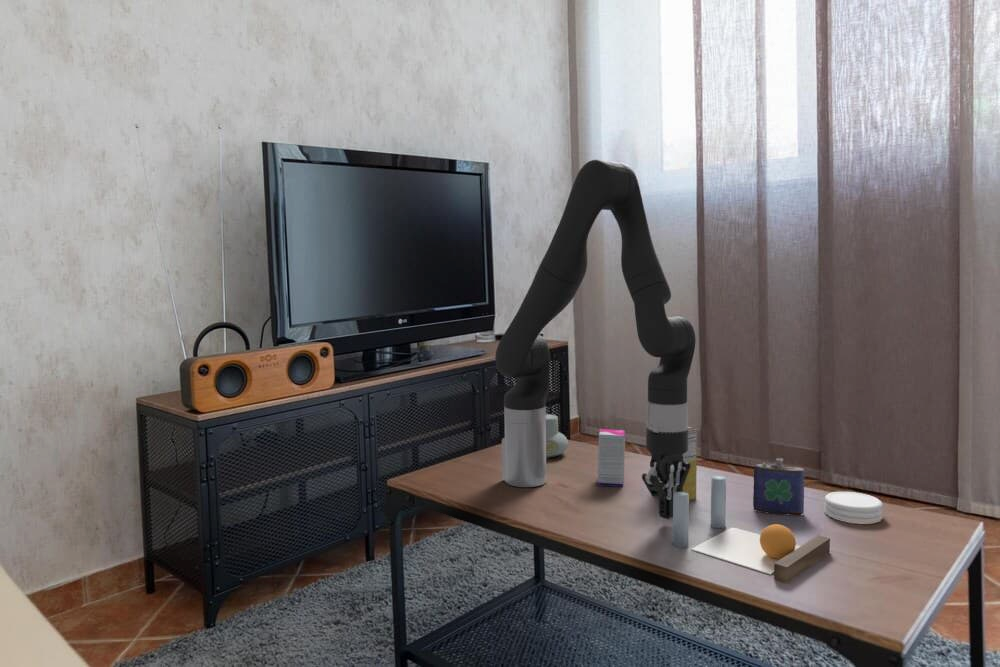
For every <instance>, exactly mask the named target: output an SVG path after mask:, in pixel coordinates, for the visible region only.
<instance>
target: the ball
mask: <svg viewBox="0 0 1000 667" xmlns="http://www.w3.org/2000/svg"><path fill="white" fill-rule="evenodd" d="M759 535H760V545H761V547H762V549H763V551H764V552H765V553H766V554H767V555H768V556H770V557H772V558H775V559H782V558H783V557H785V556H786V555H788V554H789V553H791V552H793V551H794V550H795V546H796V545H797V544H796V543H797V542H796V537H795V535H794V534H793V532H792V530H790V529H789V528H788V527H787V526H785V525H782V524H780V523H779V524H776V523H775V524H770V525H768V526H767V527H765V528H763V529H762V531H761V533H760V534H759Z"/></svg>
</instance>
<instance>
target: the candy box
mask: <svg viewBox="0 0 1000 667" xmlns="http://www.w3.org/2000/svg"><path fill="white" fill-rule="evenodd" d="M697 429H698V428H697V427H696V426H692V425H689V424H688V451H687V452H686V453H684V454H683V461H684V462H686V463H690V465H691V467H690V470H689V472H688V475H687V477H686V480H685V483H684V485H683V488H682V491H681V492H685V493H688V494H689V501H693V500H696V499H697V472H698V471H697V469H698V468H697V457H698V456H697V454H698V453H697V452H698V451H697V450H698V449H697V448H698V447H697V445H698V444H697V442H698V441H697V439H698V435H697V434H698V432H697Z"/></svg>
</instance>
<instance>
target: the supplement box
mask: <svg viewBox="0 0 1000 667" xmlns="http://www.w3.org/2000/svg"><path fill="white" fill-rule="evenodd" d="M598 433H599V434H598V452H597V453H598V456H597V457H598V459H597V460H598V462H597V486H603V485H610V486H609V487H623V486H624V485H625V484H624V480H625V459H626V458H625V452H626V451H625V450H626V449H625V448H626V430H624V429H607V428H606V429H605V428H600V429H599V432H598Z"/></svg>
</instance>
